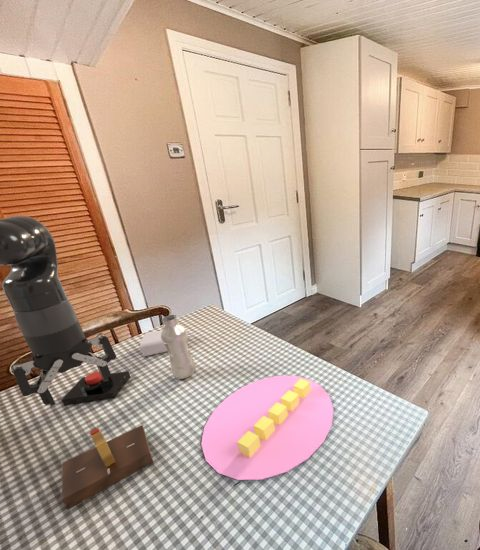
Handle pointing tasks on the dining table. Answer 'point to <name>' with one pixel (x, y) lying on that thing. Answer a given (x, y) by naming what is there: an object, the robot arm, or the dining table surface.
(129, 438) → the plate
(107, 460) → the lock knob
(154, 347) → the charger
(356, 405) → the dining table surface
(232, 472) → the platter
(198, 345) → the dining table surface
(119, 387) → the switch block
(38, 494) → the dining table surface
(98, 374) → the button
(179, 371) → the plastic bottle
